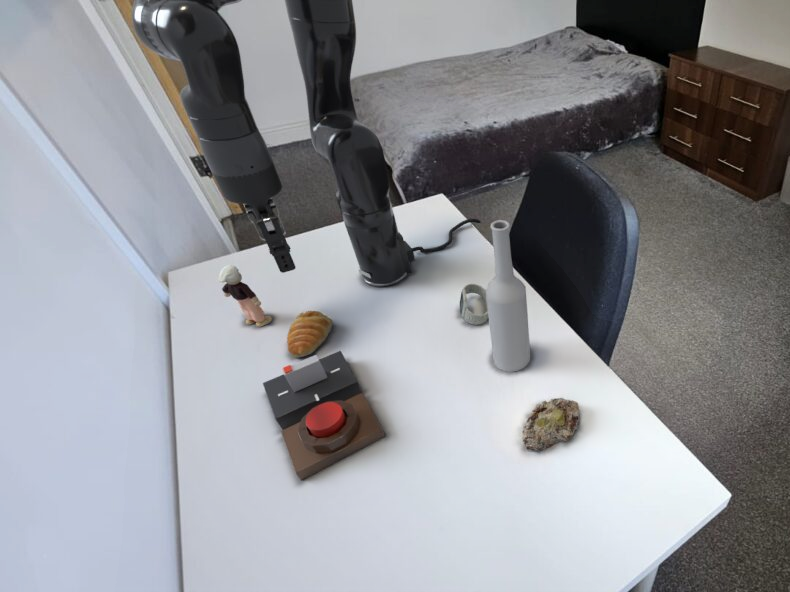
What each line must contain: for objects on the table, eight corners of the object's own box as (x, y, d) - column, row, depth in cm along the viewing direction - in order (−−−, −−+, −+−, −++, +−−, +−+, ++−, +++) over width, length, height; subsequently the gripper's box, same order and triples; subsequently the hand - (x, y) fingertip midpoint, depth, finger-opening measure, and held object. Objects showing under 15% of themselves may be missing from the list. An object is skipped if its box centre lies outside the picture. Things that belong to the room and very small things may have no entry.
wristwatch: (458, 298, 97) (455, 279, 93) (489, 294, 98) (487, 275, 95) (462, 328, 90) (459, 309, 87) (495, 323, 92) (493, 304, 88)
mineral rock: (552, 382, 78) (587, 401, 73) (558, 401, 80) (592, 420, 75) (503, 424, 72) (537, 447, 67) (511, 443, 74) (545, 467, 69)
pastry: (321, 358, 83) (314, 343, 81) (281, 361, 82) (272, 346, 80) (335, 322, 90) (329, 307, 88) (298, 324, 89) (291, 309, 87)
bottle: (518, 339, 88) (509, 208, 70) (537, 361, 84) (531, 228, 66) (487, 354, 85) (468, 220, 67) (504, 377, 81) (489, 242, 63)
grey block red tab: (324, 371, 77) (315, 353, 74) (327, 377, 76) (318, 359, 73) (291, 386, 75) (281, 367, 72) (294, 392, 74) (283, 374, 71)
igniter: (365, 399, 77) (359, 384, 74) (385, 436, 72) (378, 420, 69) (285, 438, 71) (275, 423, 68) (300, 480, 66) (290, 465, 63)
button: (340, 404, 72) (336, 396, 70) (350, 426, 69) (346, 418, 68) (306, 420, 69) (301, 412, 68) (315, 443, 66) (311, 435, 65)
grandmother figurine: (281, 315, 91) (254, 262, 83) (269, 329, 88) (240, 275, 80) (243, 311, 91) (212, 258, 83) (230, 325, 88) (196, 271, 80)
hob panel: (345, 360, 83) (339, 348, 81) (362, 394, 78) (357, 382, 75) (269, 393, 77) (261, 380, 75) (283, 432, 72) (275, 419, 70)
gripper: (282, 175, 64) (318, 271, 74) (261, 140, 72) (296, 231, 83) (217, 188, 60) (265, 287, 71) (203, 150, 69) (247, 243, 79)
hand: (282, 257), depth 77 cm, fingers open, 8 cm apart
